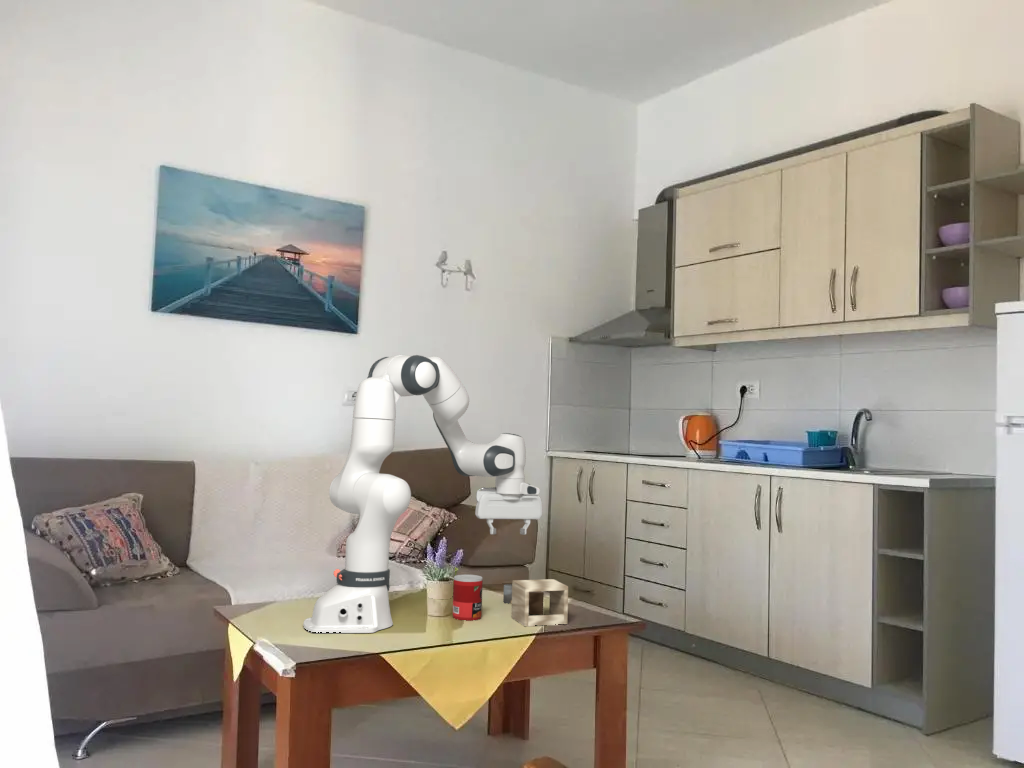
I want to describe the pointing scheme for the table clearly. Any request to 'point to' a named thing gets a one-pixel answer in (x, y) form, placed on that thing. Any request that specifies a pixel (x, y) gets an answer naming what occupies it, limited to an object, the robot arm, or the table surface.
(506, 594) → the partly hidden dark block
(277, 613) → the table surface
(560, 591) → the oak cubby
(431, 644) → the table surface
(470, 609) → the canned food
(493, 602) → the table surface
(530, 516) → the robot arm
